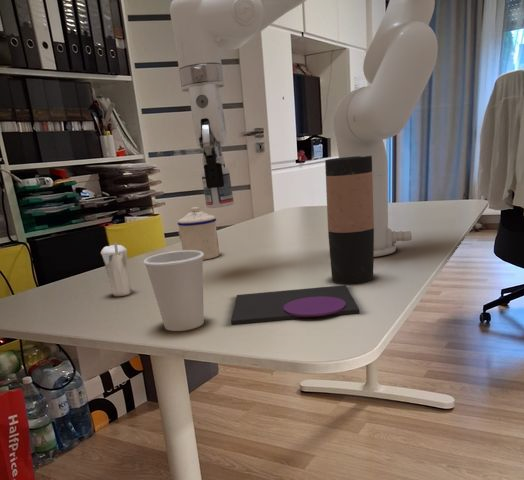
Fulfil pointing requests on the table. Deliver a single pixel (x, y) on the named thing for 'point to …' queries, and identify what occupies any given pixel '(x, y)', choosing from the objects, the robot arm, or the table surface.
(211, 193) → the pill bottle
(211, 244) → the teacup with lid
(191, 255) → the dixie cup
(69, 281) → the table surface
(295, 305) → the placemat
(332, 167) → the travel mug
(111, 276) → the milkshake
